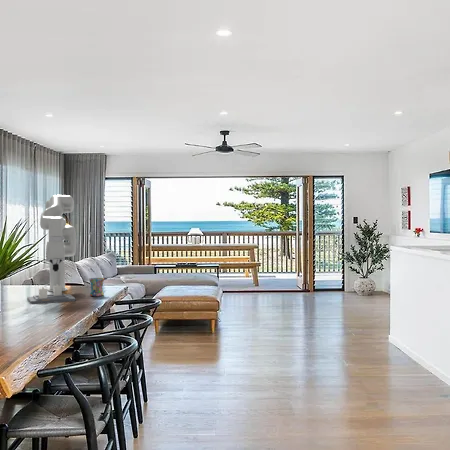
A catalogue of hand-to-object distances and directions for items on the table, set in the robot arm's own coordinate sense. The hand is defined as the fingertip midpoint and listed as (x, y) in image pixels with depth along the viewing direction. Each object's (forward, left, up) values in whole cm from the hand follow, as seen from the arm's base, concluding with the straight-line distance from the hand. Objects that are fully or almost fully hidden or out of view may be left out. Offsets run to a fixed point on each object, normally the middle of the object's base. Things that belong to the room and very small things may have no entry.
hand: (55, 271), depth 297 cm
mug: (-7, +25, -17) cm, 31 cm away
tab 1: (+1, -7, -15) cm, 17 cm away
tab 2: (-7, +2, -15) cm, 17 cm away
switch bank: (-3, -2, -17) cm, 17 cm away
